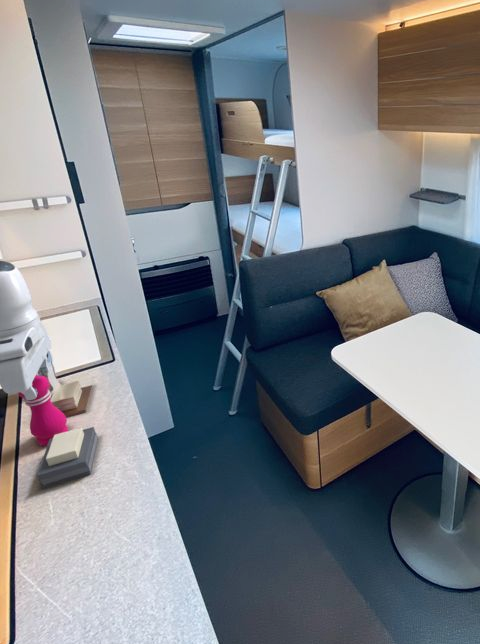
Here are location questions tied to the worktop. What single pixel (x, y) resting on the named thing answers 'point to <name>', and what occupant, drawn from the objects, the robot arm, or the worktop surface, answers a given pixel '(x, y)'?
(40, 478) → the grey pile
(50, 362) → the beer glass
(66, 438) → the ivory book
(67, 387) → the ivory pile
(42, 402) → the pepper mill
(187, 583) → the worktop surface
